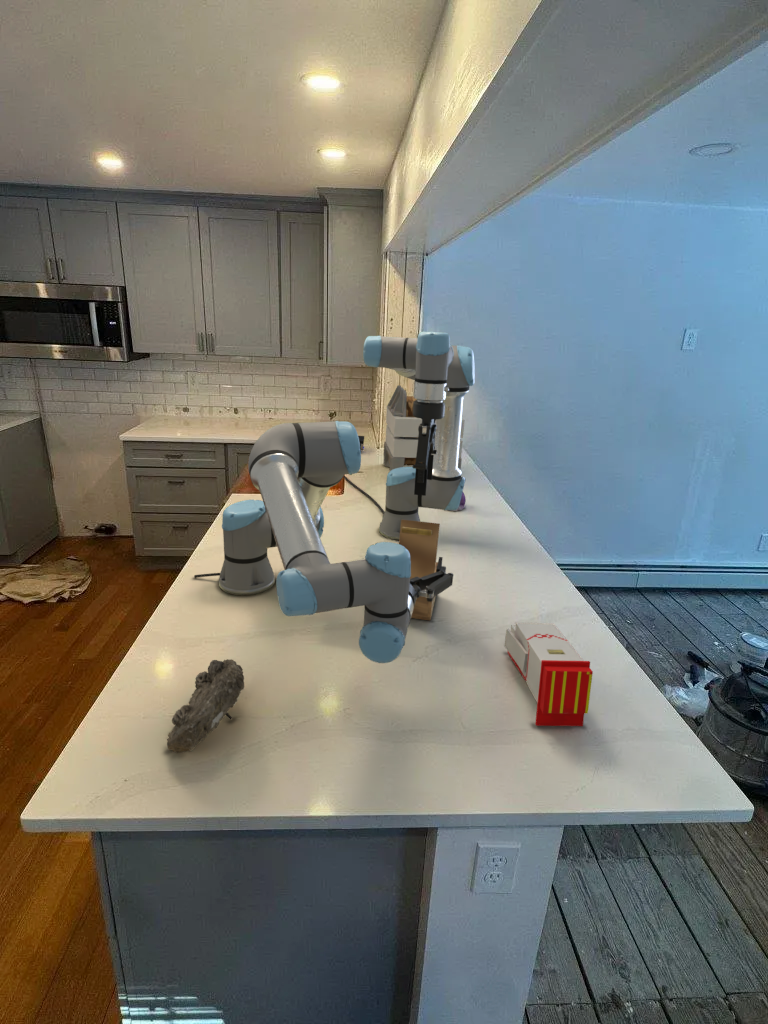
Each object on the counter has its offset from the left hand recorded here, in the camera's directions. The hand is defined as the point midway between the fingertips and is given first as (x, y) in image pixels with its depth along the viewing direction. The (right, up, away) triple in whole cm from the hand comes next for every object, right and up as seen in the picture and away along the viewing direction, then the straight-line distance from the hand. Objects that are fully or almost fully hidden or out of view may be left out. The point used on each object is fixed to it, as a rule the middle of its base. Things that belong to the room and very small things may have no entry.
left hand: (410, 558), depth 128 cm
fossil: (-39, -29, -20) cm, 52 cm away
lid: (+3, +1, +15) cm, 15 cm away
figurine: (+23, +12, +101) cm, 104 cm away
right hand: (+4, +17, +13) cm, 22 cm away
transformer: (+11, +29, +147) cm, 150 cm away
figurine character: (-20, +44, +183) cm, 190 cm away
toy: (+27, -26, -5) cm, 38 cm away
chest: (+2, -14, +25) cm, 29 cm away
